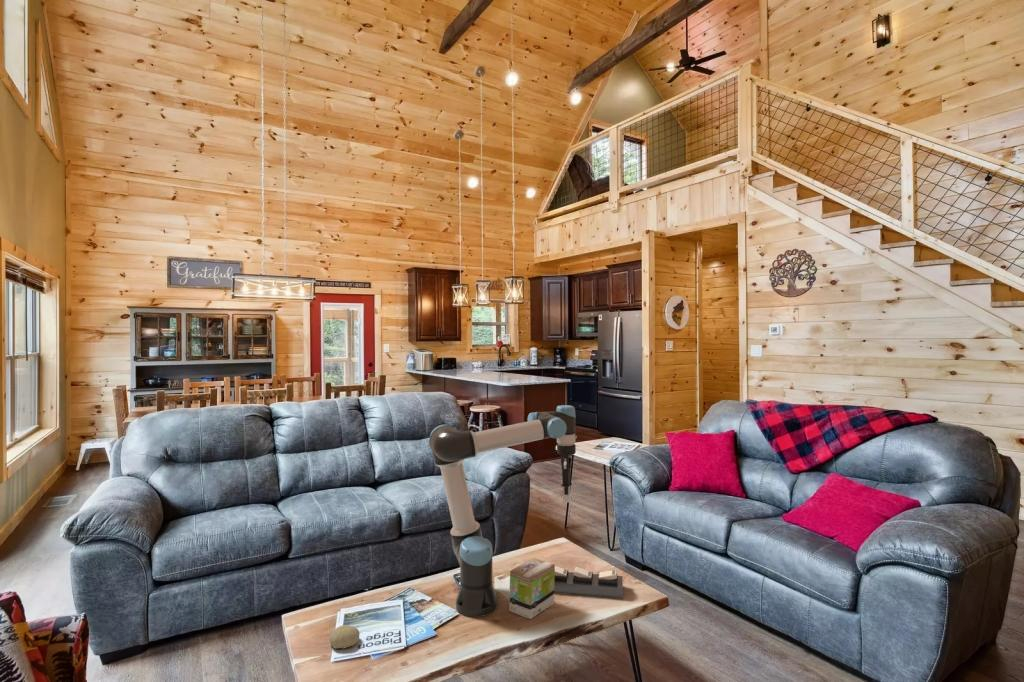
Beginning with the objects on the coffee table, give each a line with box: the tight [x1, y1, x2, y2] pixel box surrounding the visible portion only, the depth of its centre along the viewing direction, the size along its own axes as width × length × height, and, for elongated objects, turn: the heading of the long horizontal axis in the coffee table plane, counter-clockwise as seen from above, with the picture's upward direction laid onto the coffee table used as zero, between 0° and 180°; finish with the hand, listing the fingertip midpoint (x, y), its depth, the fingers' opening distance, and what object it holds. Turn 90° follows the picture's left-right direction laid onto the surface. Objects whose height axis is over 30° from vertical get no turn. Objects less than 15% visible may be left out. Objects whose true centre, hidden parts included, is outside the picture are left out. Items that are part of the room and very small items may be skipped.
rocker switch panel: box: [554, 569, 624, 599], centre depth 209 cm, size 30×10×6 cm, turn 79°
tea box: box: [508, 557, 556, 620], centre depth 196 cm, size 15×10×15 cm, turn 143°
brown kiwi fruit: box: [329, 624, 360, 649], centre depth 174 cm, size 9×8×8 cm
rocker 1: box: [555, 565, 568, 576], centre depth 211 cm, size 6×4×2 cm
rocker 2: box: [573, 566, 593, 578], centre depth 209 cm, size 6×4×2 cm
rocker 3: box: [598, 569, 618, 580], centre depth 207 cm, size 6×4×2 cm
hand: (566, 501), depth 220 cm, fingers closed
